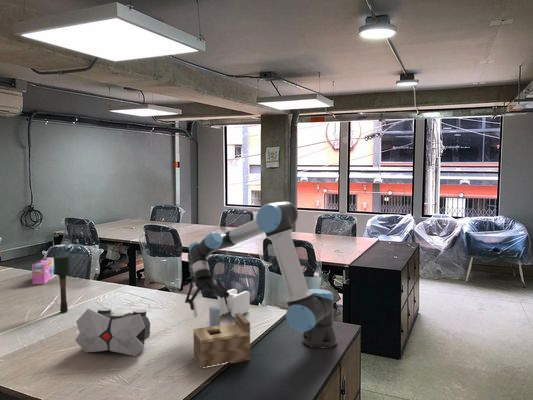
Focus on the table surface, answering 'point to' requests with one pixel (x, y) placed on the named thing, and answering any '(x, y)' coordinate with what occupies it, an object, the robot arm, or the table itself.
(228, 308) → the cable organizer
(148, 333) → the electronic device
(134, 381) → the table surface
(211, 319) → the blue-gray rectangular block
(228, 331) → the tan holed block
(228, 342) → the open wooden box
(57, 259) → the stick grenade
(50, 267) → the gum box
